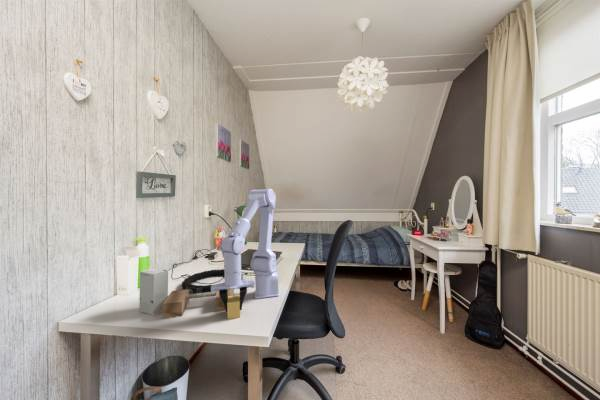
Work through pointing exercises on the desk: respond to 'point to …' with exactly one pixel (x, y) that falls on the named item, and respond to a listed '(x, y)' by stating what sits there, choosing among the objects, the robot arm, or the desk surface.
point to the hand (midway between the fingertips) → (233, 309)
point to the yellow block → (233, 306)
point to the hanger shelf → (180, 300)
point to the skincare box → (153, 290)
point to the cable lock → (199, 288)
